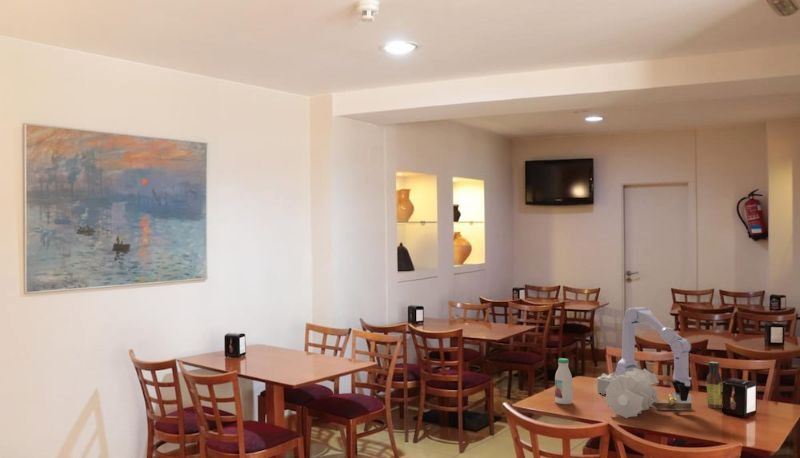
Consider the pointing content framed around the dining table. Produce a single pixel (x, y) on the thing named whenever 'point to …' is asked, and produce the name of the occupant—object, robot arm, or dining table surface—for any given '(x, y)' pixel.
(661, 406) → the tan flat board
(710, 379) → the sauce bottle
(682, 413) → the dining table surface
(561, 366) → the milk bottle
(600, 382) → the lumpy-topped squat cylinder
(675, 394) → the white block with knob
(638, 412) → the spiral staircase
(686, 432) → the dining table surface
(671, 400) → the lever
